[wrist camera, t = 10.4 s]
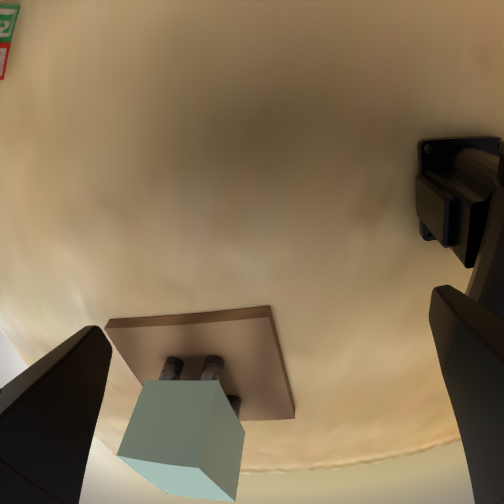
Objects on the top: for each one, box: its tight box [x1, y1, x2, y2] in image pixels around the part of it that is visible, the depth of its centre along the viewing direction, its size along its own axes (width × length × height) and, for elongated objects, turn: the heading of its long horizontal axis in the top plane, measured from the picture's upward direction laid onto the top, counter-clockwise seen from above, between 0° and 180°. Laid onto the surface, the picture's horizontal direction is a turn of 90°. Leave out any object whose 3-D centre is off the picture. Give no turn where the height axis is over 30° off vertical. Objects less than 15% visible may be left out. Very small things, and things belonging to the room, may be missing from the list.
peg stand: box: [104, 306, 295, 421], centre depth 25 cm, size 14×14×4 cm
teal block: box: [117, 380, 245, 502], centre depth 20 cm, size 6×8×7 cm
